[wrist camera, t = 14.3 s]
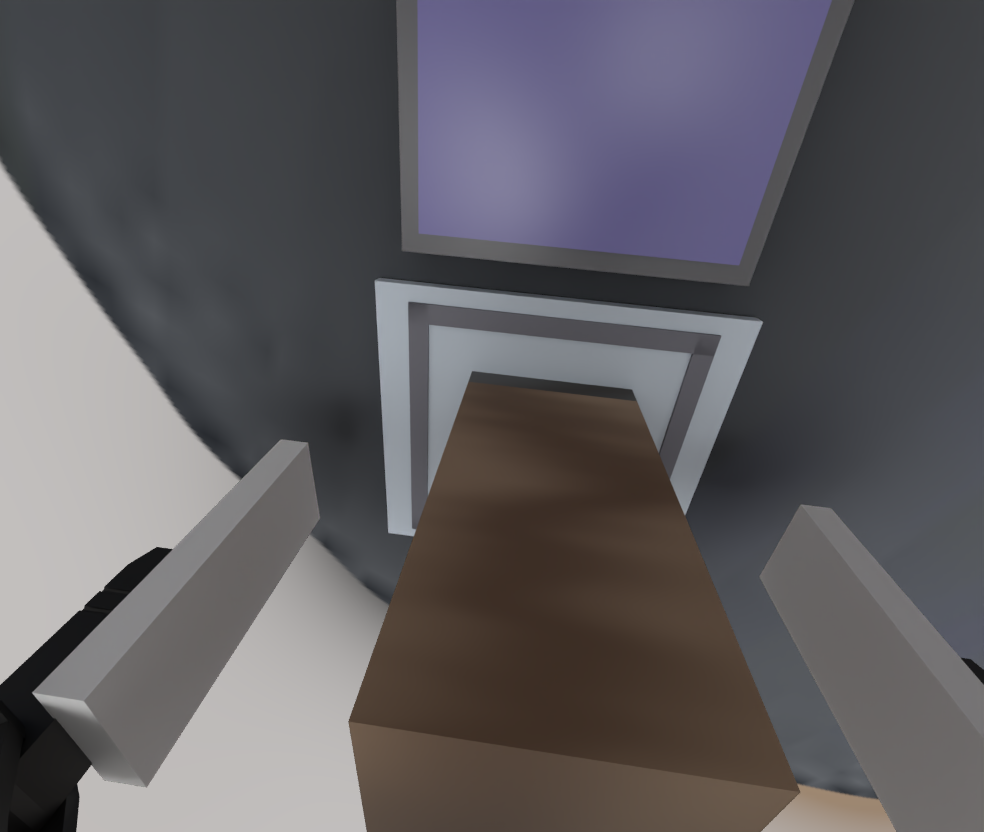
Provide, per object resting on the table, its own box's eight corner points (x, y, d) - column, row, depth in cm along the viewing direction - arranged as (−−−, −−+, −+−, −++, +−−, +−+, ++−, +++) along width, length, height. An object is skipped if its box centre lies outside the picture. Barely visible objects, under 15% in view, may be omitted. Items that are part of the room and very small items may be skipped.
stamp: (631, 389, 13) (800, 792, 5) (599, 511, 16) (668, 922, 7) (471, 370, 14) (348, 721, 5) (464, 493, 16) (373, 871, 7)
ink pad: (920, -260, 7) (984, -331, 6) (733, 278, 12) (751, 288, 11) (405, -282, 8) (384, -352, 7) (411, 245, 12) (399, 252, 11)
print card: (756, 317, 12) (764, 323, 12) (660, 561, 17) (663, 571, 17) (379, 277, 13) (373, 281, 12) (391, 525, 18) (387, 534, 17)
